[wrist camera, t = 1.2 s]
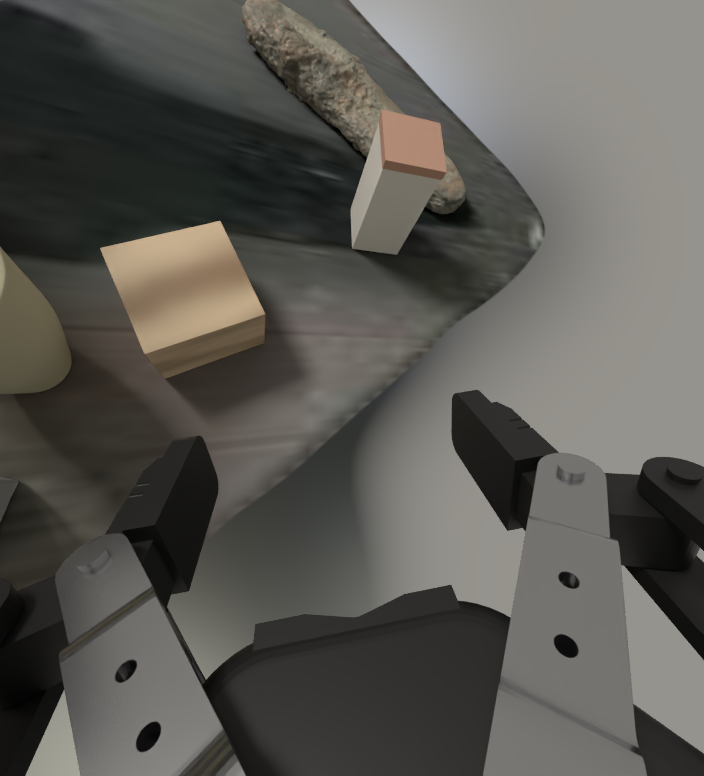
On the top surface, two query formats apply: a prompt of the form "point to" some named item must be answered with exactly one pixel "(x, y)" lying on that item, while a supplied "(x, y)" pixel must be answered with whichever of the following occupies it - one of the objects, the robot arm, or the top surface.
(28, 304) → the mug
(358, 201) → the canister
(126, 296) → the oak block
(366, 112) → the long grey stone
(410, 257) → the top surface
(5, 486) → the skincare box
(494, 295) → the top surface
